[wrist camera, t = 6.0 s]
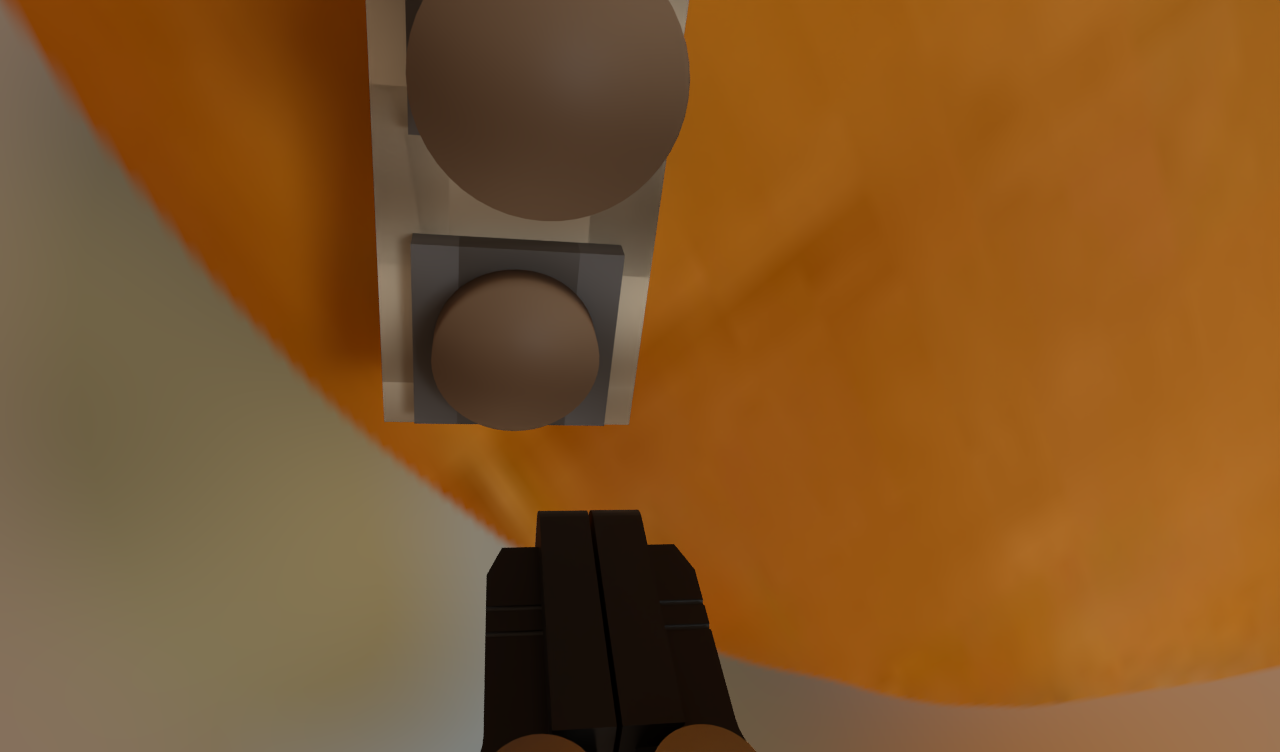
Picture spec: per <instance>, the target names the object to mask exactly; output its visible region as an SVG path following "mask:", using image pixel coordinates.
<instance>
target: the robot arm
mask: <svg viewBox="0 0 1280 752" xmlns="http://www.w3.org/2000/svg"><path fill="white" fill-rule="evenodd" d="M486 589H487V590H486V636H485V691H484V693H485V694H484V737H483V745H482V749H481V752H756V751H755V750H754V749H753V748H752V747H751V745H750V744H749V743H747V742H746V740H745V738H744V737H743V735H742V733H741V731H740V730H739V727H738V725H737V722H736V719H735V715H734V712H733V708H732V704H731V701H730V697H729V694H728V690H727V686H726V683H725V679H724V675H723V672H722V668H721V664H720V660H719V657H718V653H717V649H716V646H715V642H714V639H713V635H712V631H711V629H709V620H708V617H707V613H706V609H705V606H704V605H703V598H702V595H701V591H700V587H699V584H698V580H697V576H696V573H695V569H694V568H693V567H692V566H691V564H690V563H689V562H688V561H687V560H686V558H685V557H684V556H683V555H682V553H681V552H680V551H679V550H678V548H677V547H676V546H675V545H674V544H663V545H647V541H646V536H645V531H644V527H643V522H642V517H641V514H640V512H639V510H590V512H589V515H588V512H587V511H538V514H537V526H536V542H535V547H520V548H502V549H501V551H500V553H499V554H498V556H497V558H496V560H495V561H494V563H493V565H492V567H491V568H490V570H489V572H488V574H487V587H486Z"/></svg>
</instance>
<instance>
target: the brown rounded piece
mask: <svg viewBox="0 0 1280 752" xmlns="http://www.w3.org/2000/svg"><path fill="white" fill-rule="evenodd" d="M406 84H407V94H408V99H409V103H410V108H411V113H412V115H413V118H414V121H415V124H416V127H417V129H418V132H419V134H420V136H421V138H422V140H423V142H424V144H425V146H426V148H427V149H428V151H429V152H430V154H431V155H432V157H433V158H434V160H435V161H436V163H437V164H438V165H439V166H440V168H441V169H442V170H443V171H444V172H445V173H446V175H447V176H448V177H449V178H450V179H451V180H452V181H453V182H455V183H456V184H457V185H458V186H459V187H460V188H461V189H462V190H464V191H465V192H466V193H468V194H469V195H471V196H472V197H473V198H475V199H476V200H478V201H480V202H482V203H483V204H485V205H487V206H489V207H491V208H493V209H495V210H498V211H501V212H503V213H506V214H508V215H512V216H516V217H520V218H524V219H529V220H537V221H565V220H573V219H579V218H583V217H587V216H591V215H594V214H597V213H599V212H602V211H604V210H607V209H609V208H611V207H613V206H615V205H616V204H618V203H620V202H622V201H624V200H625V199H627V198H628V197H629V196H631V195H632V194H634V193H635V192H636V191H638V190H639V189H640V188H641V187H642V186H643V185H644V184H645V183H646V182H647V181H648V180H649V179H650V178H651V177H652V176H653V175H654V174H655V172H656V171H657V170H658V169H659V168H660V167H661V165H662V164H663V162H664V161H665V159H666V158H667V156H668V154H669V153H670V151H671V149H672V147H673V145H674V143H675V141H676V139H677V137H678V135H679V132H680V129H681V126H682V123H683V121H684V117H685V113H686V108H687V103H688V96H689V85H690V74H689V59H688V53H687V47H686V42H685V39H684V35H683V32H682V28H681V25H680V23H679V20H678V18H677V16H676V14H675V11H674V9H673V7H672V5H671V3H670V2H669V0H423V1H422V3H421V6H420V8H419V10H418V12H417V14H416V17H415V20H414V23H413V26H412V29H411V32H410V36H409V42H408V48H407V53H406Z"/></svg>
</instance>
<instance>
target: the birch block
mask: <svg viewBox="0 0 1280 752" xmlns="http://www.w3.org/2000/svg"><path fill="white" fill-rule="evenodd" d="M422 1H423V0H366V20H367V42H368V65H369V87H370V110H371V132H372V155H373V177H374V200H375V222H376V245H377V267H378V290H379V312H380V335H381V357H382V380H383V402H384V422H414V423H426V424H478V423H475V422H473V421H471V420H469V419H467V418H466V417H464V416H463V415H461V414H460V413H458V412H457V411H456V410H455V409H454V408H453V407H452V406H451V405H450V404H449V403H448V402H447V401H446V400H445V398H444V397H443V396H442V394H441V392H440V391H439V389H438V387H437V385H436V382H435V380H434V376H433V372H432V364H431V356H432V345H433V337H434V330H435V325H436V321H437V319H438V316H439V314H440V311H441V310H442V308H443V306H444V305H445V303H446V302H447V301H448V299H449V298H450V297H451V296H452V295H453V294H454V293H455V292H456V291H457V290H458V289H459V288H461V287H462V286H463V285H465V284H466V283H468V282H470V281H471V280H473V279H475V278H477V277H480V276H482V275H485V274H488V273H491V272H495V271H501V270H515V269H520V270H529V271H534V272H538V273H542V274H545V275H548V276H550V277H552V278H554V279H556V280H558V281H560V282H562V283H563V284H565V285H566V286H568V287H569V288H570V289H571V290H572V291H573V292H574V293H576V294H577V296H578V297H579V298H580V299H581V300H582V302H583V303H584V305H585V306H586V308H587V309H588V312H589V314H590V316H591V319H592V322H593V326H594V330H595V334H596V339H597V343H598V348H599V368H598V373H597V376H596V379H595V382H594V384H593V386H592V388H591V390H590V392H589V393H588V395H587V396H586V398H585V399H584V400H583V401H582V402H581V403H580V405H579V406H578V407H576V408H575V409H574V410H573V411H572V412H571V413H569V414H568V415H566V416H565V417H563V418H561V419H559V420H558V421H556V422H554V423H551V424H548V425H593V426H604V424H624V425H629V419H630V412H631V405H632V398H633V391H634V384H635V376H636V369H637V362H638V355H639V348H640V341H641V334H642V327H643V320H644V313H645V306H646V299H647V292H648V285H649V278H650V271H651V264H652V257H653V250H654V243H655V236H656V228H657V221H658V214H659V207H660V200H661V193H662V186H663V179H664V172H665V165H666V159H665V161H664V162H663V164H662V165H661V167H660V168H659V169H658V170H657V171H656V172H655V174H654V175H653V176H652V177H651V178H650V179H649V180H648V181H647V182H646V183H645V184H644V185H643V186H642V187H641V188H640V189H639V190H638V191H636V192H635V193H634V194H632V195H631V196H629V197H628V198H627V199H625V200H624V201H622V202H620V203H618V204H616V205H615V206H613V207H611V208H609V209H607V210H604V211H602V212H599V213H597V214H594V215H591V216H587V217H583V218H579V219H573V220H565V221H537V220H529V219H524V218H520V217H516V216H512V215H508V214H506V213H503V212H501V211H498V210H495V209H493V208H491V207H489V206H487V205H485V204H483V203H482V202H480V201H478V200H476V199H475V198H473V197H472V196H471V195H469V194H468V193H466V192H465V191H464V190H462V189H461V188H460V187H459V186H458V185H457V184H456V183H455V182H453V181H452V180H451V179H450V178H449V177H448V176H447V175H446V173H445V172H444V171H443V170H442V169H441V168H440V166H439V165H438V164H437V163H436V161H435V160H434V158H433V157H432V155H431V154H430V152H429V151H428V149H427V148H426V146H425V144H424V142H423V140H422V138H421V136H420V134H419V132H418V129H417V127H416V124H415V121H414V118H413V115H412V113H411V108H410V103H409V99H408V94H407V84H406V53H407V48H408V42H409V36H410V32H411V29H412V26H413V23H414V20H415V17H416V14H417V12H418V10H419V8H420V6H421V3H422ZM669 2H670V3H671V5H672V7H673V9H674V11H675V14H676V16H677V18H678V20H679V23H680V25H681V28H682V32H683V35H684V31H685V24H686V17H687V10H688V3H689V0H669Z"/></svg>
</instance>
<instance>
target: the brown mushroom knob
mask: <svg viewBox="0 0 1280 752" xmlns="http://www.w3.org/2000/svg"><path fill="white" fill-rule="evenodd" d="M431 364H432V372H433V376H434V380H435V382H436V385H437V387H438V389H439V391H440V392H441V394H442V396H443V397H444V398H445V400H446V401H447V402H448V403H449V404H450V405H451V406H452V407H453V408H454V409H455V410H456V411H457V412H458V413H460V414H461V415H463V416H464V417H466V418H467V419H469V420H471V421H473V422H475V423H478V424H480V425H482V426H486V427H489V428H493V429H499V430H508V431H521V430H530V429H535V428H539V427H543V426H546V425H548V424H551V423H554V422H556V421H558V420H559V419H561V418H563V417H565V416H566V415H568V414H569V413H571V412H572V411H573V410H574V409H575V408H576V407H578V406H579V405H580V403H581V402H582V401H583V400H584V399H585V398H586V396H587V395H588V393H589V392H590V390H591V388H592V386H593V384H594V382H595V379H596V376H597V373H598V368H599V348H598V343H597V339H596V334H595V330H594V326H593V322H592V319H591V316H590V314H589V312H588V309H587V308H586V306H585V305H584V303H583V302H582V300H581V299H580V298H579V297H578V296H577V294H576V293H574V292H573V291H572V290H571V289H570V288H569V287H568V286H566V285H565V284H563V283H562V282H560V281H558V280H556V279H554V278H552V277H550V276H548V275H545V274H542V273H538V272H534V271H529V270H520V269H515V270H501V271H495V272H491V273H488V274H485V275H482V276H480V277H477V278H475V279H473V280H471V281H470V282H468V283H466V284H465V285H463V286H462V287H461V288H459V289H458V290H457V291H456V292H455V293H454V294H453V295H452V296H451V297H450V298H449V299H448V301H447V302H446V303H445V305H444V306H443V308H442V310H441V311H440V314H439V316H438V319H437V321H436V325H435V330H434V337H433V345H432V356H431Z"/></svg>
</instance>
